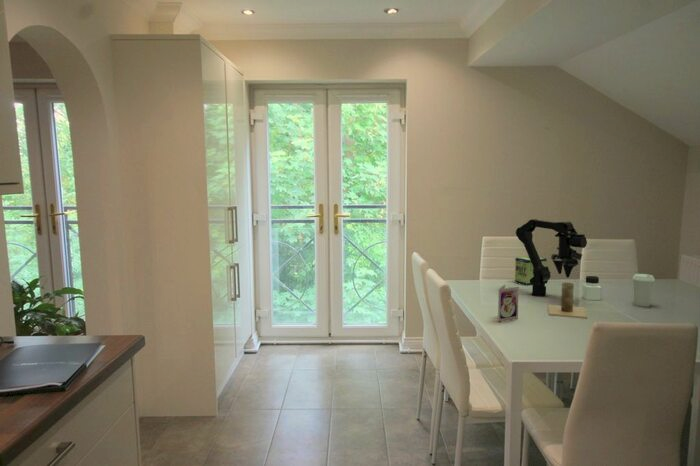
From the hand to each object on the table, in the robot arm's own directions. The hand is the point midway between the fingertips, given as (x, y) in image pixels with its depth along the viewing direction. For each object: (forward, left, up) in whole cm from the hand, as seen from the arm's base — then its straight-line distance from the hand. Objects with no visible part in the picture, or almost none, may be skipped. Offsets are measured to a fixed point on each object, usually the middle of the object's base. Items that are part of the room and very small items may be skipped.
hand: (563, 275), depth 241 cm
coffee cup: (+36, +2, -13) cm, 38 cm away
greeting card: (-26, -45, -13) cm, 54 cm away
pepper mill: (+1, -24, -12) cm, 27 cm away
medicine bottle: (+14, +8, -13) cm, 21 cm away
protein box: (-17, +38, -13) cm, 44 cm away
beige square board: (+1, -24, -13) cm, 27 cm away
